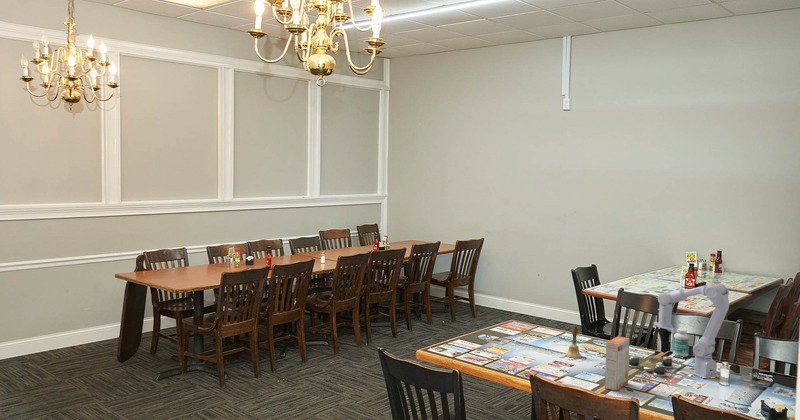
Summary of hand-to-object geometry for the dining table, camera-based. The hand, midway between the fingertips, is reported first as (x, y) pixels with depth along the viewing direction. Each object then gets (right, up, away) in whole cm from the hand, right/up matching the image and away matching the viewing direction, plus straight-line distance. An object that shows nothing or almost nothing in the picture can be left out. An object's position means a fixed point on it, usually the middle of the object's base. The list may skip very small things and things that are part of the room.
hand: (663, 343), depth 318 cm
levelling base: (-7, -11, -9) cm, 16 cm away
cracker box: (-35, -12, -32) cm, 49 cm away
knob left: (-11, -10, -14) cm, 21 cm away
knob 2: (-3, -9, -3) cm, 10 cm away
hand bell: (-42, -9, +12) cm, 44 cm away
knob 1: (-19, -9, -3) cm, 21 cm away
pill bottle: (+16, -10, +17) cm, 26 cm away
